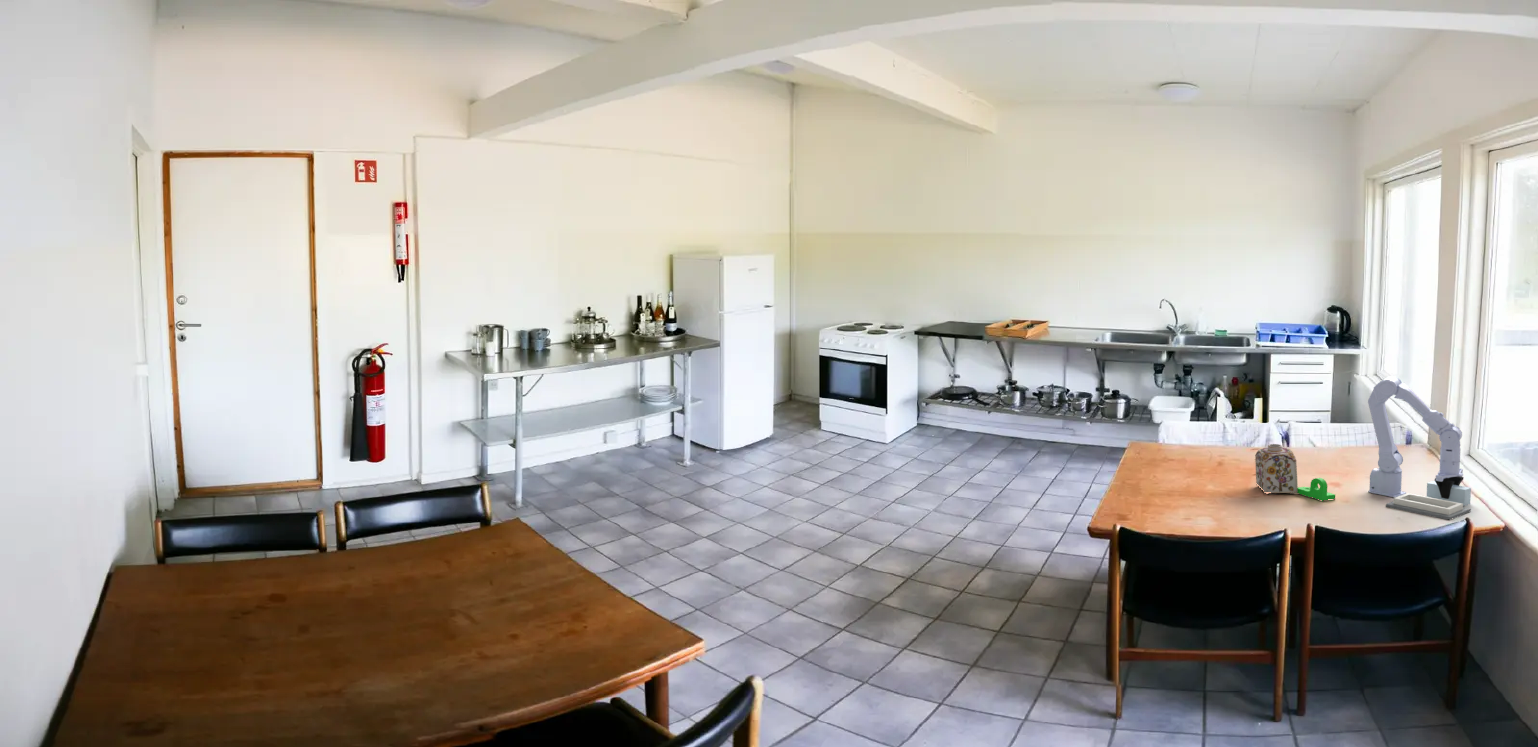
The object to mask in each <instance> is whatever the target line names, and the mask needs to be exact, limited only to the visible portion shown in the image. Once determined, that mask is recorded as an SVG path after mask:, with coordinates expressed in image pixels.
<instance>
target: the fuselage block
mask: <svg viewBox="0 0 1538 747" xmlns="http://www.w3.org/2000/svg"><path fill="white" fill-rule="evenodd" d="M1471 490H1472V487H1468V486H1463V485H1459V486H1458V485H1452V487H1451V491H1450V496H1449V499H1445V498H1441V495H1440V491H1439V488H1438V485H1437V484H1436V482H1435V480H1432V481H1429V482H1427V483H1426V497H1431V498H1436V499H1441V500H1446V501H1451V502H1457V503H1462V504H1463V507H1466V506H1468V504H1469V505H1470V504H1471V499H1472V498H1471V497H1472V496H1471V495H1472V491H1471ZM1465 505H1466V506H1465Z"/></svg>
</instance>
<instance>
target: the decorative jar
mask: <svg viewBox="0 0 1538 747" xmlns="http://www.w3.org/2000/svg"><path fill="white" fill-rule="evenodd" d="M1294 454H1295V453H1294V451H1293V450H1292V449H1291V448H1287V447H1283V446H1282V445H1281V444H1278V443H1271V444H1270V443H1269V444H1268V445H1267V447H1263V448H1260V449H1258V450H1257V451H1256V453H1255V455H1254V456H1255V457H1254V458H1255V482H1256V483H1257V484H1258V485H1259V486H1260V487H1261V488H1262V489H1263V490H1264V492H1271V493H1290V494H1298V487H1299V485H1298V468H1297V467H1298V466H1297V458H1296V456H1295V455H1294ZM1257 484H1256V485H1257Z"/></svg>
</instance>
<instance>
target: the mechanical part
mask: <svg viewBox="0 0 1538 747" xmlns="http://www.w3.org/2000/svg"><path fill="white" fill-rule="evenodd" d="M1298 493H1299V495H1301V494H1302V495H1301V496H1304V495H1305V496H1304V497H1307V496H1308V498H1310V497H1313V498H1316V499H1319V500H1322V501H1321V502H1324V501H1323V500H1328V499H1334V498H1335V499H1336V494H1335V493H1331V492H1328V483H1327V481H1326V480H1325V478H1322V477H1317V478H1316V477H1315V478H1312V479H1311V481H1310V486H1298ZM1298 493H1297V494H1298ZM1313 498H1312V499H1313ZM1316 499H1315V500H1316ZM1319 500H1318V501H1319Z"/></svg>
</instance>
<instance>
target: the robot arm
mask: <svg viewBox="0 0 1538 747" xmlns="http://www.w3.org/2000/svg"><path fill="white" fill-rule="evenodd" d="M1393 396H1394V397H1393ZM1391 397H1393V398H1394V399H1396V400H1397V399H1399V400H1403V401H1405V402H1406V403H1407V404H1408V405H1410V406H1411V407H1412V408H1413V409H1414V410H1415V411H1417V413H1419V414H1420V415H1421V416H1422V422H1424V424H1425V425H1426V426H1427V427H1429V428H1430V430H1431V431H1433V432H1434V433H1435V434H1436V435H1438V436H1439V437H1438V438H1439V441H1440V442H1441V443H1440V444H1441V445H1440V452H1439V471H1438V472H1437V474H1435V477H1434V481H1435V482H1436V484H1437V485H1438V488H1439V491H1440V495H1441V498H1445V499H1449V496H1450V491H1451V487H1452V485H1458V486H1461V483H1462V482H1463V480H1464V473H1463V470H1464V469H1463V468H1460V467H1461V466H1460V465H1461V439H1462V437H1463V432H1462V430H1461V429H1460V427H1458V426H1455V424H1454V422H1452V423H1451V422H1450V421H1449V420H1448V419H1447V418H1445V417H1444V415H1445V413H1443V412H1442V411H1441V412H1439V411H1438V410H1435V409H1433V410H1432V409H1431V408H1430V407H1429V406H1428V405H1427V404H1426V403H1425V401H1423V400H1422V399H1421V398H1420V397H1419V396H1418V395H1417V394H1416V393H1415V392H1414V391H1413V390H1412V389H1411V388H1410V387H1409V386H1408V385H1407V384H1406V383H1405V382H1402V380H1401V379H1400V378H1399V377H1397V376H1394V375H1389V376H1386V377H1384V378H1383V379H1382V380H1381V381H1379V382H1378V383H1377V384H1376V385H1374V387H1373V390H1372V392H1371V393H1370V395H1369V398H1368V400H1367V403H1368V407H1369V411H1370V416H1371V419H1372V424H1373V428H1374V432H1375V436H1376V440H1377V445H1378V461H1377V466H1378V468H1377V467H1374V468H1373V469H1372V470H1371V472H1370V473H1369V490H1368V493H1371V494H1375V495H1380V496H1385V497H1390V498H1395V497H1398V496H1401V495H1404V494H1406V493H1407V492H1406V491H1402V479H1403V478H1402V477H1403V475H1402V474H1403V470H1402V468H1401V467H1400V466H1402V464H1403V462H1404V457H1403V455H1402V453H1400V451H1399V450H1398V449H1399V448H1398V447H1397V445H1396V443H1395V441H1394V436H1393V431H1392V428H1391V424H1390V419H1389V415H1388V412H1387V408H1386V402H1387V401H1388V400H1389V399H1390V398H1391Z"/></svg>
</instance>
